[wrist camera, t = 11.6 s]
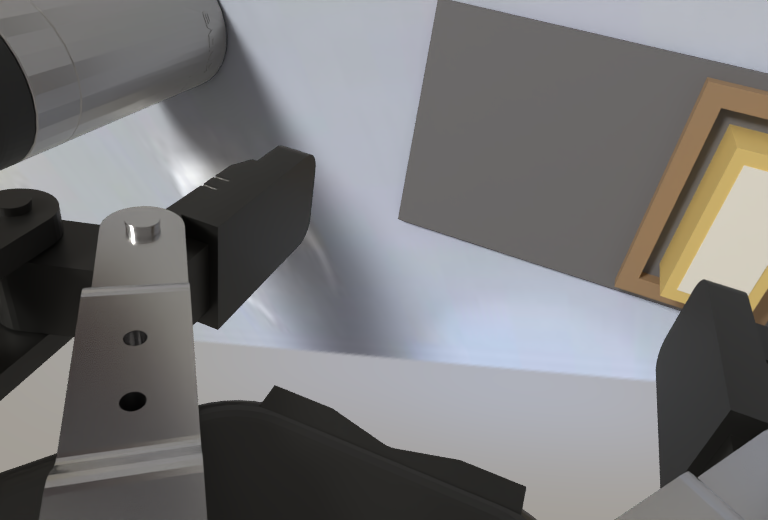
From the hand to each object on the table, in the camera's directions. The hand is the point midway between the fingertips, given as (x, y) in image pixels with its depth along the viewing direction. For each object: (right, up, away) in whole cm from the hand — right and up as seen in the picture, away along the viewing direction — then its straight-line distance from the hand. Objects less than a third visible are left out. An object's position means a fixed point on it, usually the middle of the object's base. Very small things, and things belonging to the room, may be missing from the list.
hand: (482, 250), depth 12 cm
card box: (+20, +3, +24) cm, 31 cm away
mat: (+13, +5, +26) cm, 30 cm away
